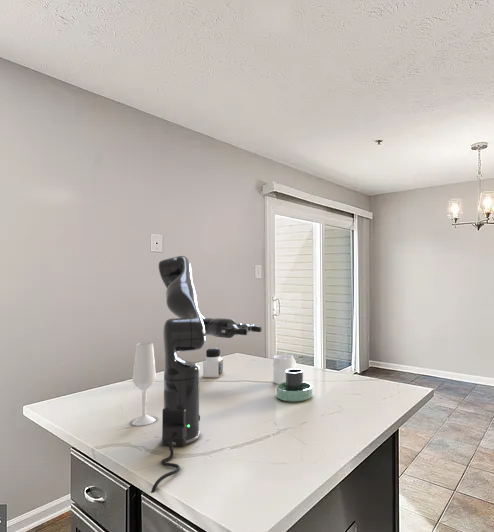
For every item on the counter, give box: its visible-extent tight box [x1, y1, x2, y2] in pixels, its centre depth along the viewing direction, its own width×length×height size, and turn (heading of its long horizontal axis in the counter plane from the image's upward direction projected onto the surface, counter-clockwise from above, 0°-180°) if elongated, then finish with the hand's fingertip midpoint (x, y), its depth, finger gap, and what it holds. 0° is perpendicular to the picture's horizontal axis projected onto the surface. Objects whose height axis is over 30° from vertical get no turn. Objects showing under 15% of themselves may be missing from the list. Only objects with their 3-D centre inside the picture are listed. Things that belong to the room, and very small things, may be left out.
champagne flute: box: [131, 341, 157, 427], centre depth 117 cm, size 7×7×24 cm
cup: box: [286, 368, 304, 391], centre depth 141 cm, size 6×6×9 cm
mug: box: [272, 353, 297, 385], centre depth 162 cm, size 9×12×11 cm
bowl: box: [276, 381, 313, 403], centre depth 141 cm, size 13×13×4 cm
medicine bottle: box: [202, 347, 224, 378], centre depth 171 cm, size 7×7×12 cm
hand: (253, 330), depth 145 cm, fingers open, 8 cm apart
